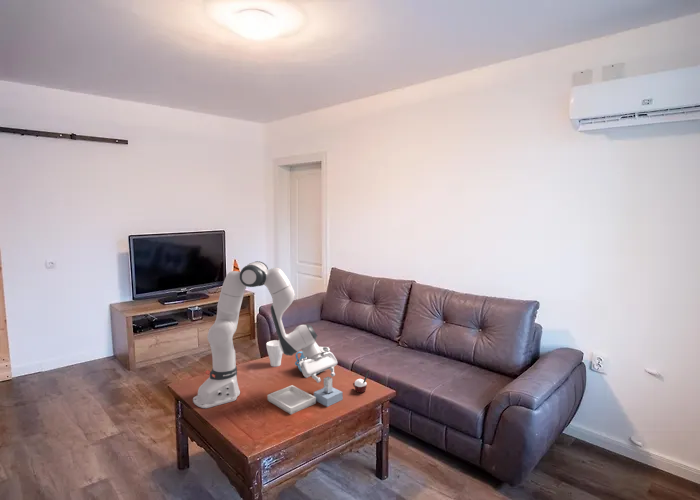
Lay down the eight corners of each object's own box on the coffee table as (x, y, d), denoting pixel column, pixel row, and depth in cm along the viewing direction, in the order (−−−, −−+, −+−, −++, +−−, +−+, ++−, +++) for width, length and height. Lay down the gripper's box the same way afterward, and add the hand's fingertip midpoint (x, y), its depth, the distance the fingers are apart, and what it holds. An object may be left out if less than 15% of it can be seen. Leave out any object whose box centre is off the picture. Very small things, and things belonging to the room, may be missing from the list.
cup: (276, 369, 235) (275, 347, 234) (263, 365, 241) (262, 343, 240) (288, 363, 244) (287, 342, 243) (275, 360, 250) (274, 339, 248)
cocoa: (351, 390, 210) (350, 367, 209) (361, 386, 213) (360, 364, 212) (361, 396, 202) (360, 373, 201) (371, 392, 205) (370, 370, 204)
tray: (290, 414, 185) (290, 408, 185) (267, 400, 198) (267, 394, 198) (316, 403, 195) (316, 397, 195) (292, 390, 209) (292, 385, 208)
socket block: (327, 406, 192) (327, 398, 191) (313, 399, 199) (313, 392, 198) (342, 399, 199) (342, 391, 198) (329, 393, 206) (328, 385, 205)
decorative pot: (318, 363, 245) (317, 341, 244) (331, 372, 232) (331, 349, 230) (293, 369, 237) (292, 346, 235) (305, 378, 223) (305, 355, 222)
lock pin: (327, 401, 197) (327, 380, 196) (323, 399, 199) (323, 378, 198) (332, 399, 199) (332, 378, 198) (328, 397, 201) (328, 376, 200)
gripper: (299, 357, 195) (313, 382, 190) (331, 346, 210) (344, 369, 204) (294, 363, 199) (307, 388, 193) (325, 352, 213) (338, 375, 208)
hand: (326, 378), depth 199 cm, fingers open, 8 cm apart
